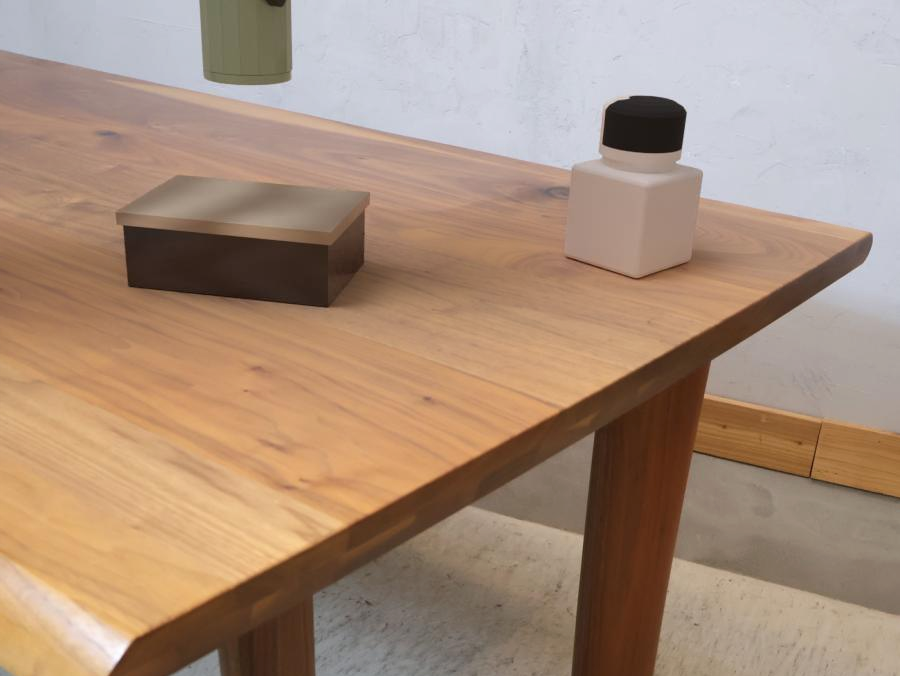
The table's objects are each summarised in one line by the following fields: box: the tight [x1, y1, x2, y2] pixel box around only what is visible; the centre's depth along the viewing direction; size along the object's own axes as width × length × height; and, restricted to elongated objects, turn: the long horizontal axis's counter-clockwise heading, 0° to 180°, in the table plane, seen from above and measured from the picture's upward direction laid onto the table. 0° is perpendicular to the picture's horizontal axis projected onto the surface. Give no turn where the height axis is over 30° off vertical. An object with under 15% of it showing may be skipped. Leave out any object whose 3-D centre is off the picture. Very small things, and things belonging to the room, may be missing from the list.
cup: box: [198, 0, 293, 86], centre depth 72 cm, size 6×6×9 cm
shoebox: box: [115, 174, 371, 308], centre depth 80 cm, size 15×11×5 cm
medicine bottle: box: [563, 94, 704, 279], centre depth 86 cm, size 7×7×12 cm
